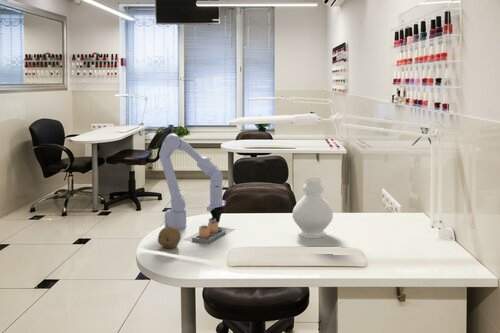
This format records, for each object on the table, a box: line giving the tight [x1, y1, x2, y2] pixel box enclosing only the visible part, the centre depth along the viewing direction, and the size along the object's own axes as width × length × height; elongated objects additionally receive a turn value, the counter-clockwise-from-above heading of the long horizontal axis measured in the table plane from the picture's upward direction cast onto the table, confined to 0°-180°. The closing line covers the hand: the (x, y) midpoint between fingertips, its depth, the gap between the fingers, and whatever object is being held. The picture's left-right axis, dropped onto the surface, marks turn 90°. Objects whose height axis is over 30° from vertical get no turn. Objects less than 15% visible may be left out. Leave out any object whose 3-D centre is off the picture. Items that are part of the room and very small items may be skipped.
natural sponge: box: [157, 226, 181, 250], centre depth 213 cm, size 9×9×10 cm
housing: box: [183, 226, 236, 245], centre depth 231 cm, size 12×24×3 cm, turn 154°
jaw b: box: [207, 221, 219, 234], centre depth 230 cm, size 4×4×6 cm
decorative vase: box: [292, 177, 334, 239], centre depth 234 cm, size 18×18×25 cm
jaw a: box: [198, 224, 210, 239], centre depth 223 cm, size 4×4×6 cm
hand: (216, 222), depth 246 cm, fingers closed
